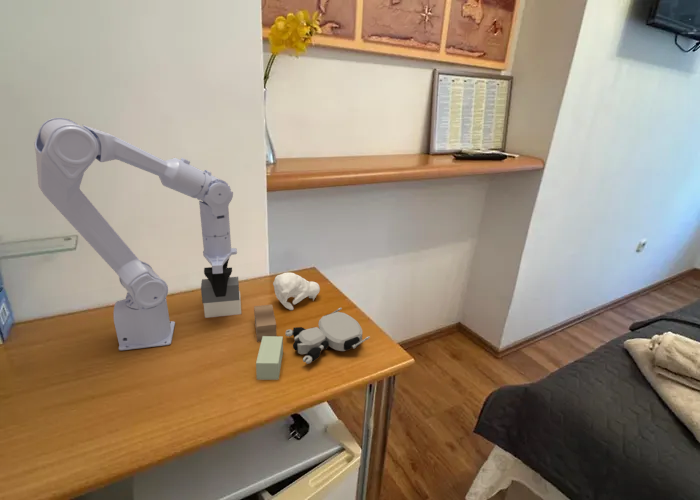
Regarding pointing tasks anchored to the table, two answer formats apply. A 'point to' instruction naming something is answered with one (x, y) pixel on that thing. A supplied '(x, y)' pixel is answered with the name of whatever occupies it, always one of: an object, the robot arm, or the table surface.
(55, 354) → the table surface
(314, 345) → the robot toy
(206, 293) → the charcoal brick
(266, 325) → the walnut brick
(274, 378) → the sage brick
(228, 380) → the table surface
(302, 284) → the white animal figurine
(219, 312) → the off-white brick
